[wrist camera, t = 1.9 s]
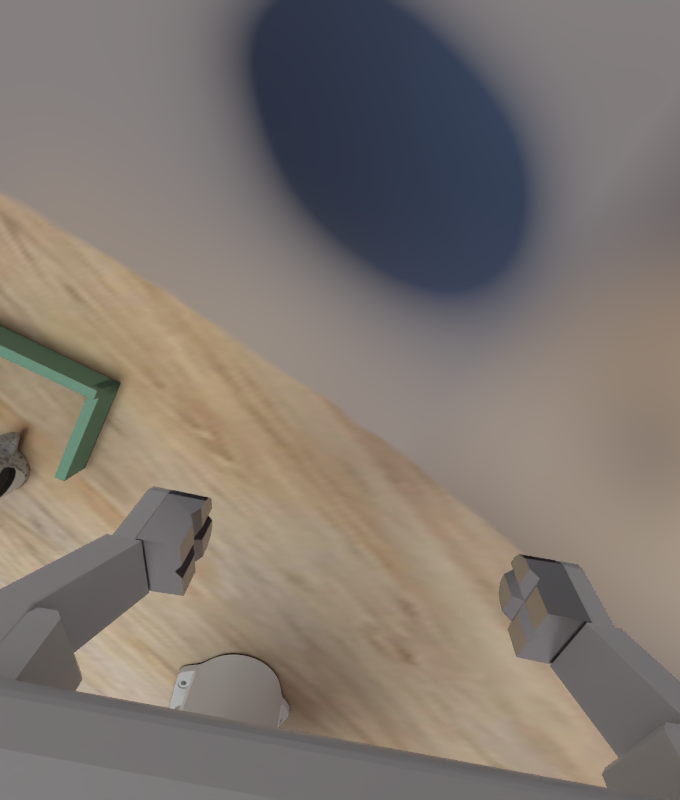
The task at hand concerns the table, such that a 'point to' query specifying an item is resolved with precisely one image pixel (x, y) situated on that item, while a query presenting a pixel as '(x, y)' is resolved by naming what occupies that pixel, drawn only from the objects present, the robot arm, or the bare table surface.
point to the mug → (12, 464)
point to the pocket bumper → (74, 378)
